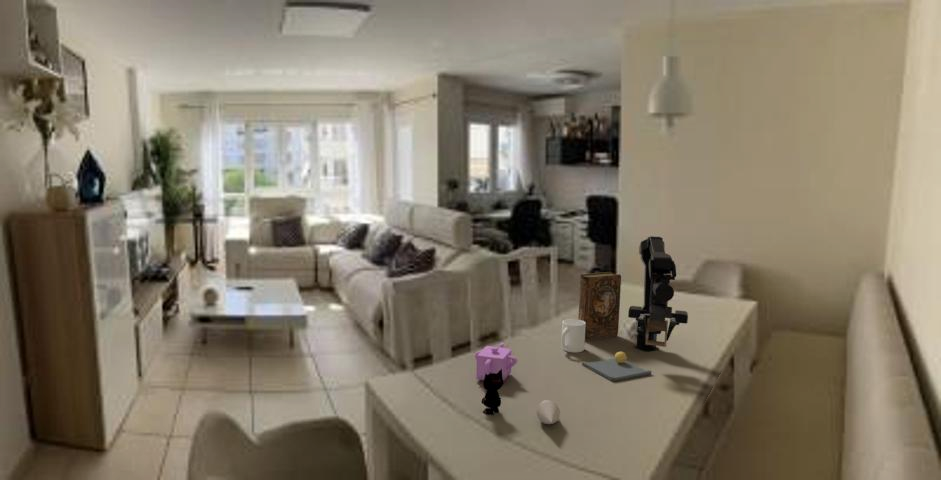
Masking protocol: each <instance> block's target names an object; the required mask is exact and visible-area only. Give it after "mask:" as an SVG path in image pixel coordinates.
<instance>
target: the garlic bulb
mask: <svg viewBox="0 0 941 480" xmlns="http://www.w3.org/2000/svg"><path fill="white" fill-rule="evenodd" d="M536 410H537V411H536V416H537V419H538V420H539V421H540V422H541V423H542V424H545V425H553V424H555V423H556V422H558V420H559V419H560V417H561V416H560V415H561V411H560V408H559V406H558V405H557V404H556V403H555V402H554V401H551V400H550V399H545V400H542V401H541V402H540V403H539V404H538V407H537V409H536Z"/></svg>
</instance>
